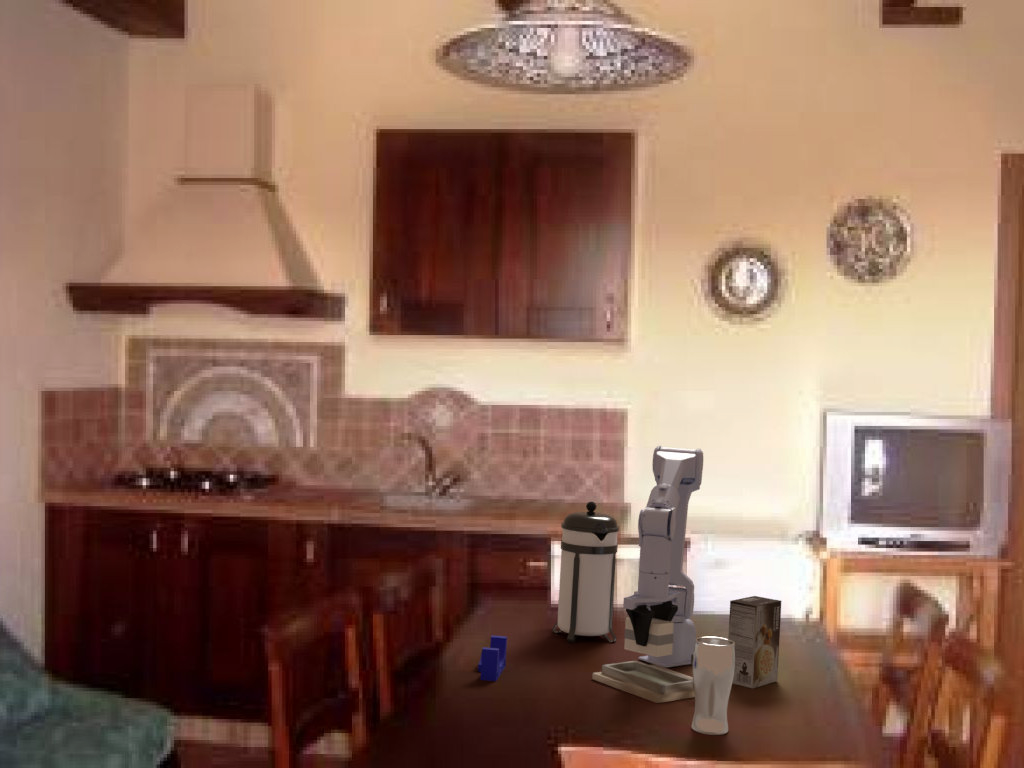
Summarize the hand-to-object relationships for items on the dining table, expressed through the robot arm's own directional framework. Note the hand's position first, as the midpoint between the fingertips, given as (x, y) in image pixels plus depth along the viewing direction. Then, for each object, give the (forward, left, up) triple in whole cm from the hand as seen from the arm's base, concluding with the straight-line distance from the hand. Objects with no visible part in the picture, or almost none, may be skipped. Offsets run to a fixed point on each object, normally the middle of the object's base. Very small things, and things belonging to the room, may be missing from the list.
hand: (650, 643), depth 234 cm
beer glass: (+9, +25, -8) cm, 28 cm away
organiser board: (-2, 0, -8) cm, 9 cm away
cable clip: (+21, -22, -9) cm, 32 cm away
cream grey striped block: (0, 0, -2) cm, 2 cm away
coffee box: (-22, +6, -8) cm, 24 cm away
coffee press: (-16, -39, -8) cm, 43 cm away
